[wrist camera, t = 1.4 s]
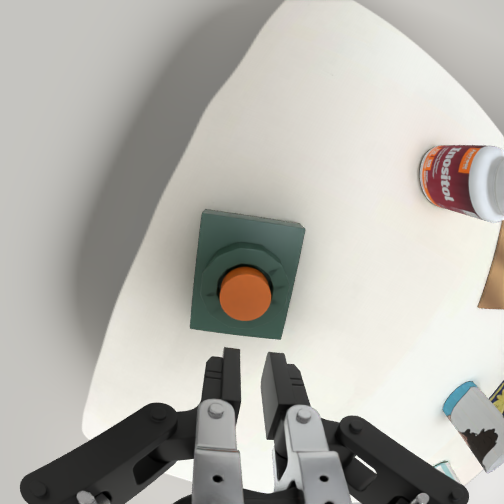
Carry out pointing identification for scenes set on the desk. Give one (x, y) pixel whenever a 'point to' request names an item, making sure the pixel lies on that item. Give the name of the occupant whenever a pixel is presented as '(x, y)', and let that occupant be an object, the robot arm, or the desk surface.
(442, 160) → the pill bottle
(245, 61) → the desk surface
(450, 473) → the can
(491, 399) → the decorative box
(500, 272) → the shiny brown mat
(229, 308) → the button
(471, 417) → the cup
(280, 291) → the green button base
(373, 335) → the desk surface
